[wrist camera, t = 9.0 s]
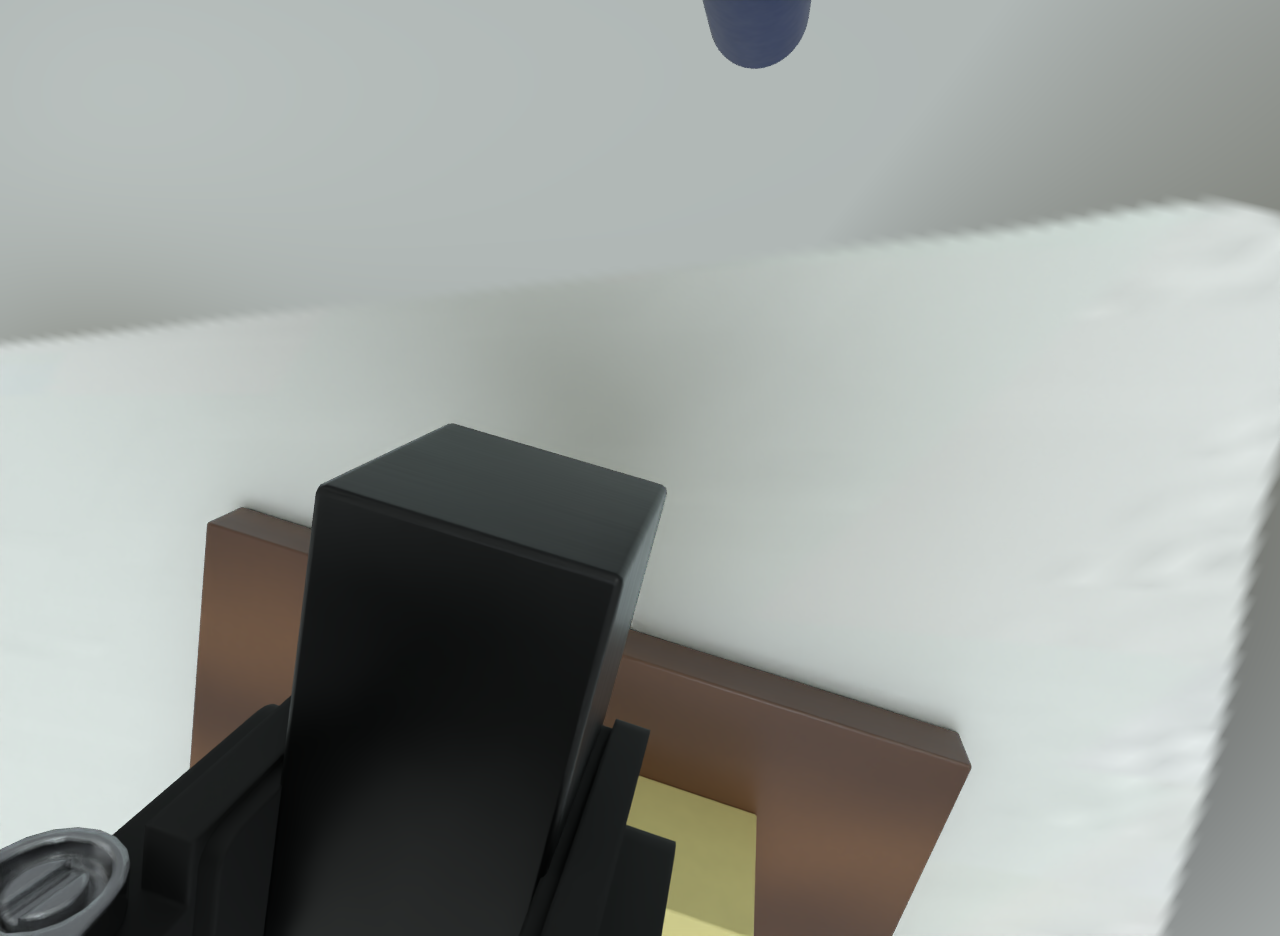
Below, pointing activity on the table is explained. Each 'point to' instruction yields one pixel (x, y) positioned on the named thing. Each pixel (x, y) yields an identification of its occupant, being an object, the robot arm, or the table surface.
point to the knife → (450, 682)
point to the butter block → (701, 859)
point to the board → (658, 741)
